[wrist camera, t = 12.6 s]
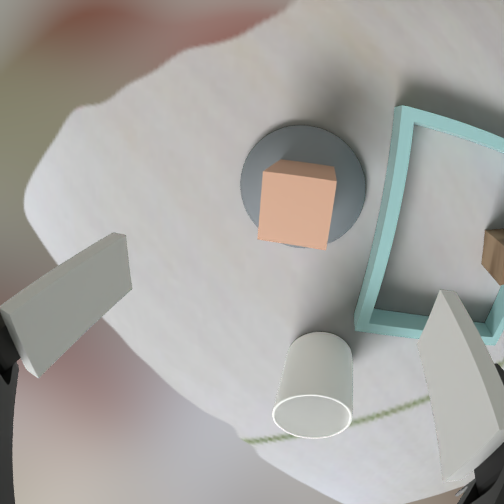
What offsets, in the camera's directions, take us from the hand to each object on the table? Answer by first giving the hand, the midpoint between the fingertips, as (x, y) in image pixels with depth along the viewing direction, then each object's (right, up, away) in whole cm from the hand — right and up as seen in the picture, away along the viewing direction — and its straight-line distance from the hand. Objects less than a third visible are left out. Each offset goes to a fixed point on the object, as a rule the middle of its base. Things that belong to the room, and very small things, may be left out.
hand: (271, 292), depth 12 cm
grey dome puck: (+4, +8, +17) cm, 19 cm away
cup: (+7, -13, +25) cm, 29 cm away
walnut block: (+26, +2, +13) cm, 29 cm away
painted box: (+4, +7, +16) cm, 18 cm away
